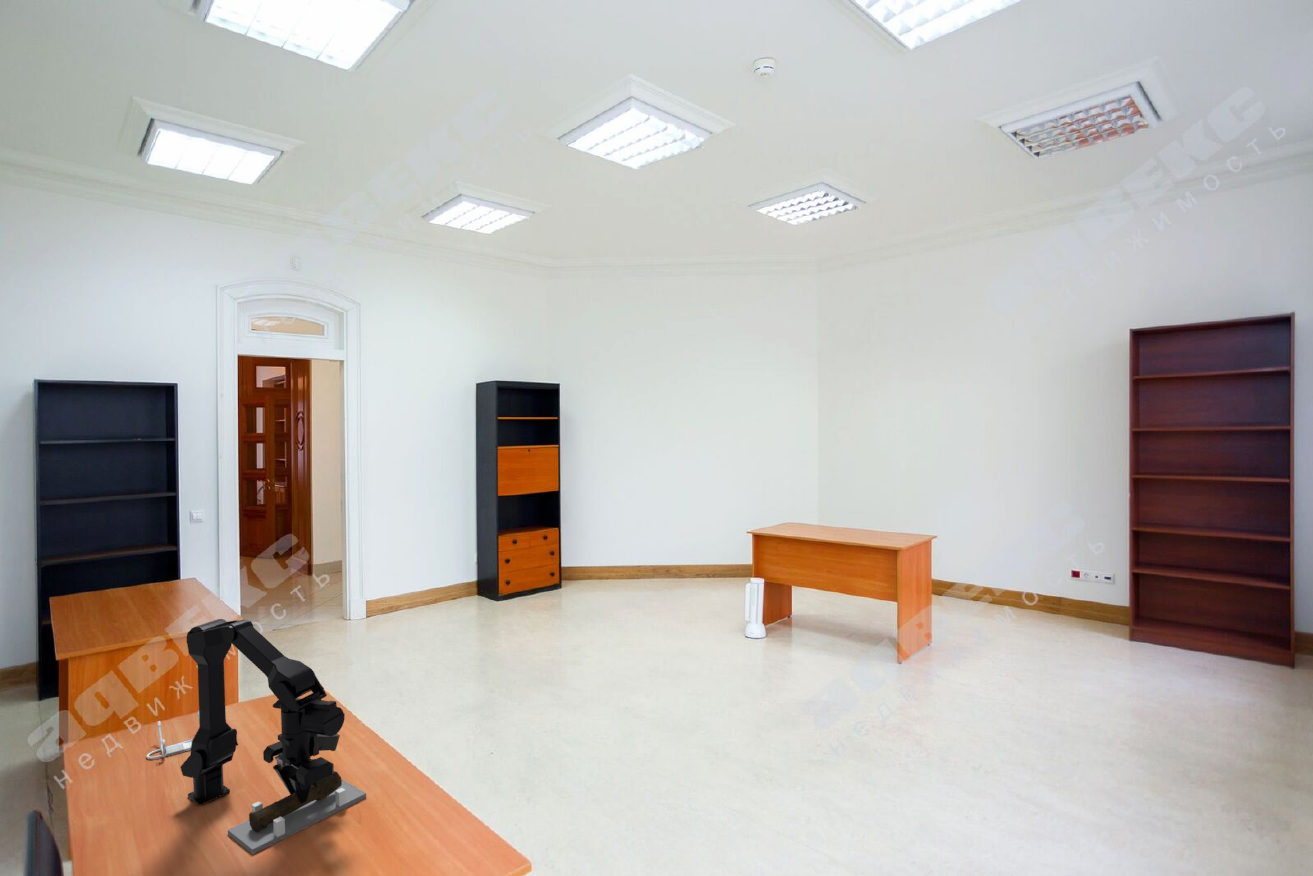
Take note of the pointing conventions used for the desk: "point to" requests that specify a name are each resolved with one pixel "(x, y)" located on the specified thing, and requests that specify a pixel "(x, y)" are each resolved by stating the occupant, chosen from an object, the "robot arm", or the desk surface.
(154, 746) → the desk surface
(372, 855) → the desk surface
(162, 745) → the wall mount rack
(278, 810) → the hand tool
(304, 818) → the plate
